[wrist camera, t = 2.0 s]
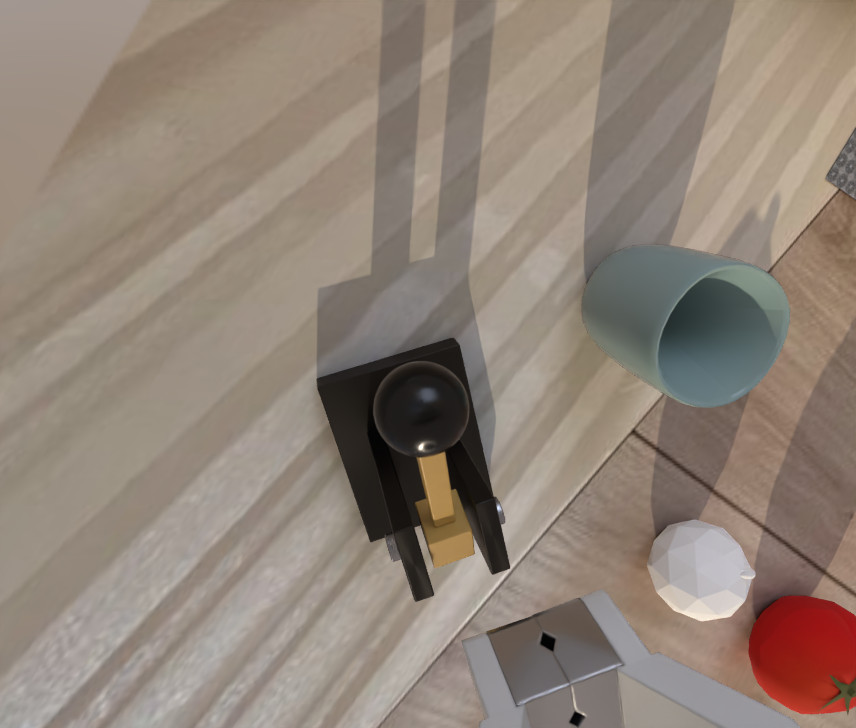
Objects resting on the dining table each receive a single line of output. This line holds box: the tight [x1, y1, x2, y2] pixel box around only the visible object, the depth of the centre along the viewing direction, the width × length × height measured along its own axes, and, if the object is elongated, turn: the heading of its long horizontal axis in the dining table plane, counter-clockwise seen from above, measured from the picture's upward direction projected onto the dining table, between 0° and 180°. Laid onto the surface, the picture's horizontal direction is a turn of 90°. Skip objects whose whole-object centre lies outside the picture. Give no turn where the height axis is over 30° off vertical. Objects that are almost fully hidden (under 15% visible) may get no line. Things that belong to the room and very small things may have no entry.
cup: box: [581, 244, 790, 408], centre depth 33 cm, size 8×8×10 cm
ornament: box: [647, 519, 755, 621], centre depth 43 cm, size 7×7×8 cm
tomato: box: [748, 596, 856, 714], centre depth 49 cm, size 9×10×8 cm
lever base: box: [317, 338, 510, 602], centre depth 32 cm, size 12×9×12 cm
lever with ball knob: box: [373, 361, 475, 568], centre depth 24 cm, size 13×4×4 cm, turn 14°
